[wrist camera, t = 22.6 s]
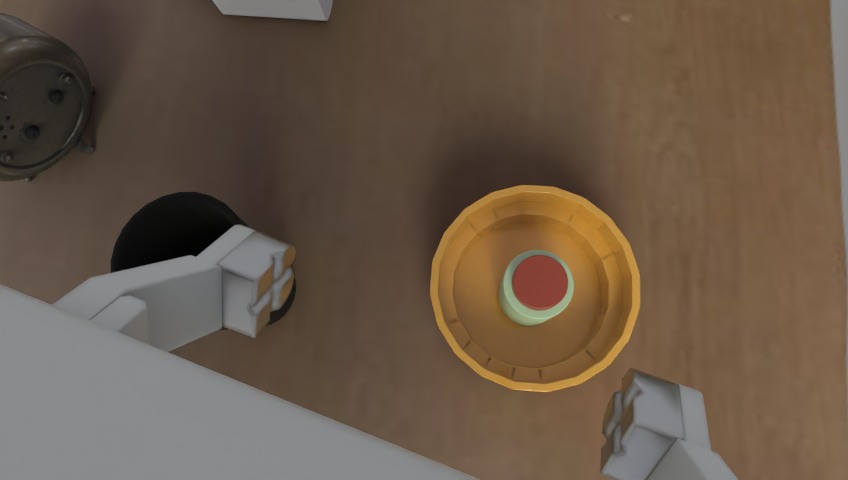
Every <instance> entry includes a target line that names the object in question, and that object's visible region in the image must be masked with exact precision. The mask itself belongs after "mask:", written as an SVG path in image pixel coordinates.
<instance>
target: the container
mask: <svg viewBox="0 0 848 480" xmlns="http://www.w3.org/2000/svg"><path fill="white" fill-rule="evenodd" d="M573 291H574V281H573V276H572V273H571V271H570V269H569V267H568V266H567V264H566V263H565V262H564V261H563V260H562V259H561V258H560V257H558V256H557V255H555V254H553V253H551V252H548V251H544V250H531V251H527V252H524V253H522V254H520V255H518V256H517V257H516V258H514V259H513V260H512V261H511V263H510V264H509V265H508V267H507V269H506V271H505V273H504V276H503V278H502V281H501V283H500V286H499V289H498V301H499V305H500V307H501V309H502V311H503V313H504V314H505V315H506V316H507V317H508V318H509V319H510V320H511V321H513V322H515V323H517V324H520V325H524V326H535V325H539V324H541V323H543V322H545V321H547V320H549V319H550V318H552V317H554V316H556V315H558V314H559V313H560V312H562V311H563V310H564V309H565V308H566V307H567V305H568V304H569V302H570V301H571V298H572V295H573Z"/></svg>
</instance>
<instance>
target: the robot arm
mask: <svg viewBox="0 0 848 480" xmlns="http://www.w3.org/2000/svg"><path fill="white" fill-rule="evenodd" d="M295 258H296V248H295V247H294V245H292V244H290V243H287V242H285V241H282V240H279V239H277V238H274V237H272V236H269V235H267V234H264V233H261V232H259V231H255V230H253V229H250V228H248V227H245V226H242V225H240V224H239V225H234V226H233V227H232V228H230V229H229V230H228V231H227V232H225V233H224V234H223V235H222V236H221V237H219V238H218V239H217V240H216V241H215V242H213V243H212V244H211V245H210V246H209V247H207V248H206V249H205V250H204V251H202V252H201V253H200V254H199V255H198V256H196V257H195V256H192V255H188V256H184V257H179V258H175V259H171V260H166V261H162V262H157V263H153V264H148V265H144V266H140V267H135V268H131V269H126V270H122V271H118V272H113V273H109V274H104V275H100V276H96V277H91V278H89V279H88V280H86V281H85V282H83V283H82V284H80V285H79V286H78V287H76V288H75V289H73V290H72V291H71V292H69V293H68V294H66V295H65V296H63V297H62V298H61V299H59V300H58V301H56V302H55V303H54V304H52V305H51V304H48V303H46V302H43V301H41V300H38V299H36V298H34V297H31V296H29V295H26V294H24V293H21V292H19V291H16V290H14V289H11V288H9V287H7V286H4V285H2V284H0V480H480V479H478V478H475V477H473V476H471V475H468V474H466V473H463V472H461V471H458V470H456V469H453V468H451V467H449V466H446V465H444V464H441V463H439V462H436V461H434V460H431V459H429V458H427V457H424V456H422V455H419V454H417V453H414V452H412V451H409V450H407V449H404V448H402V447H399V446H397V445H395V444H392V443H390V442H387V441H385V440H382V439H380V438H377V437H375V436H372V435H370V434H367V433H365V432H363V431H360V430H358V429H355V428H353V427H350V426H348V425H345V424H343V423H340V422H338V421H335V420H333V419H331V418H328V417H326V416H323V415H321V414H318V413H316V412H313V411H311V410H308V409H306V408H303V407H301V406H299V405H296V404H294V403H291V402H289V401H286V400H284V399H281V398H279V397H276V396H274V395H272V394H269V393H267V392H264V391H262V390H259V389H257V388H254V387H252V386H249V385H247V384H245V383H242V382H240V381H237V380H235V379H232V378H230V377H227V376H225V375H222V374H220V373H218V372H215V371H213V370H210V369H208V368H205V367H203V366H200V365H198V364H195V363H193V362H190V361H188V360H186V359H183V358H181V357H178V356H176V355H173V354H171V353H168V352H169V351H171V350H173V349H176V348H178V347H180V346H183V345H185V344H187V343H189V342H192V341H194V340H196V339H199V338H201V337H203V336H205V335H208V334H210V333H212V332H215V331H217V330H219V329H221V328H222V326H223V327H226V328H228V329H231V330H234V331H237V332H239V333H242V334H245V335H248V336H250V337H253V338H255V337H256V336H257V335H258V334H259V333H260V331H261V330H262V329H263V328H264V327H265V326H266V324H267V323H268V322H269V321H270V312H272V311H275V310H278V309H280V308H281V307H282V305H283V304H284V303H285V302H286V300H287V298H288V296H289V294H290V292H291V289H292V285H293V281H294V273H293V271H292V269H291V267H290V265H291V264H292V263H293V262H294V260H295ZM602 433H603V434H604V436H605V438H606V439H607V440H606V442H605V444H604V445H603V447H602V449H601V470H600V474H602V475H604V476H606V477H609V478H611V479H613V480H738V479H737V478H736V476H735V475H734V474H733V472H732V471H731V470H730V468H729V467H728V466H727V465H726V463H725V462H724V461H723V459H722V458H721V457H720V455H719V454H718V453H715V452H713V451H711V446H710V440H709V433H708V426H707V420H706V413H705V407H704V400H703V395H702V393H701V392H700V391H698V390H695V389H692V388H689V387H686V386H683V385H680V384H677V383H676V384H675V383H673V382H670V381H667V380H664V379H662V378H659V377H656V376H653V375H650V374H648V373H645V372H642V371H639V370H636V369H634V368H630V369H629V370H628V371H627V372H626V374H625V375H624V377H623V379H622V390H620V391H617V392H614V394H613V396H612V398H611V399H610V401H609V403H608V406H607V409H606V412H605V415H604V421H603V430H602Z"/></svg>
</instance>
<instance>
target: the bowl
mask: <svg viewBox="0 0 848 480" xmlns="http://www.w3.org/2000/svg"><path fill="white" fill-rule="evenodd" d="M531 250H544V251H548V252H551V253H553V254H555V255H557V256H558V257H560V258H561V259H562V260H563V261H564V262H565V263H566V264H567V266H568V267H569V269H570V271H571V273H572V276H573V281H574V291H573V295H572V298H571V301H570V302H569V304H568V305H567V307H566V308H565V309H564V310H563V311H562V312H560V313H559V314H558V315H556V316H554V317H552V318H550V319H549V320H547V321H545V322H543V323H541V324H539V325H535V326H524V325H520V324H517V323H515V322H513V321H511V320H510V319H509V318H508V317H507V316H506V315H505V314H504V313H503V311H502V309H501V307H500V305H499V301H498V289H499V286H500V283H501V281H502V278H503V276H504V273H505V271H506V269H507V267H508V265H509V264H510V263H511V261H512V260H513V259H514V258H516V257H517V256H518V255H520V254H522V253H524V252H527V251H531ZM430 297H431V301H432V305H433V310H434V314H435V318H436V322H437V325H438V327H439V329H440V330H441V332H442V334H443V335H444V337H445V339H446V340H447V342H448V343H449V345H450V347H451V348H452V350H453V352H454V353H455V354H456V355H457V356H458V357H459V358H460V359H461V360H462V361H464V362H465V363H466V364H467V365H468V366H469V367H471V368H472V369H473V370H474V371H475V372H476V373H478V374H479V375H480V376H482V377H484V378H487V379H489V380H491V381H494V382H496V383H498V384H501V385H503V386H506V387H508V388H510V389H514V390H525V391H537V392H550V391H554V390H559V389H563V388H567V387H571V386H575V385H579V384H581V383H583V382H584V381H586V380H588V379H589V378H591V377H592V376H594V375H595V374H597V373H598V372H600V371H602V370H603V369H605V368H606V367H608V365H610V364H611V362H612V361H613V360H614V359H615V357H616V356H617V355H618V353H619V352H620V351H621V350H622V348H623V347H624V346H625V345H626V343H627V342H628V341H629V339H630V336H631V333H632V330H633V328H634V325H635V322H636V319H637V316H638V313H639V310H640V273H639V270H638V267H637V264H636V261H635V258H634V255H633V252H632V249H631V246H630V244H629V242H628V241H627V239H626V238H625V237H624V235H623V234H622V232H621V231H620V230H619V228H618V227H617V226H616V224H615V223H614V222H613V220H612V219H611V218H610V217H609V216H608V215H607V214H606V213H604V212H603V211H602V210H600V209H599V208H598V207H596V206H595V205H593V204H592V203H591V202H589V201H588V200H587V199H585V198H584V197H582V196H579V195H576V194H573V193H571V192H568V191H565V190H562V189H559V188H557V187H553V186H536V185H518V186H514V187H511V188H507V189H503V190H499V191H495V192H491V193H489V194H488V195H486V196H484V197H483V198H481V199H480V200H478V201H476V202H475V203H473V204H471V205H470V206H468V207H467V208H465V209H464V210H463V211H462V212H461V213H460V214H459V216H458V217H457V218H456V219H455V220H454V222H453V223H452V224H451V225H450V226H449V227H448V229H447V230H446V231H445V232H444V234H443V236H442V239H441V241H440V243H439V246H438V248H437V251H436V253H435V256H434V258H433V260H432V268H431V281H430Z"/></svg>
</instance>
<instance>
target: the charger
mask: <svg viewBox="0 0 848 480" xmlns="http://www.w3.org/2000/svg"><path fill="white" fill-rule="evenodd" d="M212 1H213V2H214V3H215V5H216V6H217V7H218V8H219V10H220V11H221V12H222V13H223V14H226V15H242V16H258V17H273V18H289V19H305V20H321V21H327V20H328V19H329V17H330V13H331V8H332V3H333V0H212Z"/></svg>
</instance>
